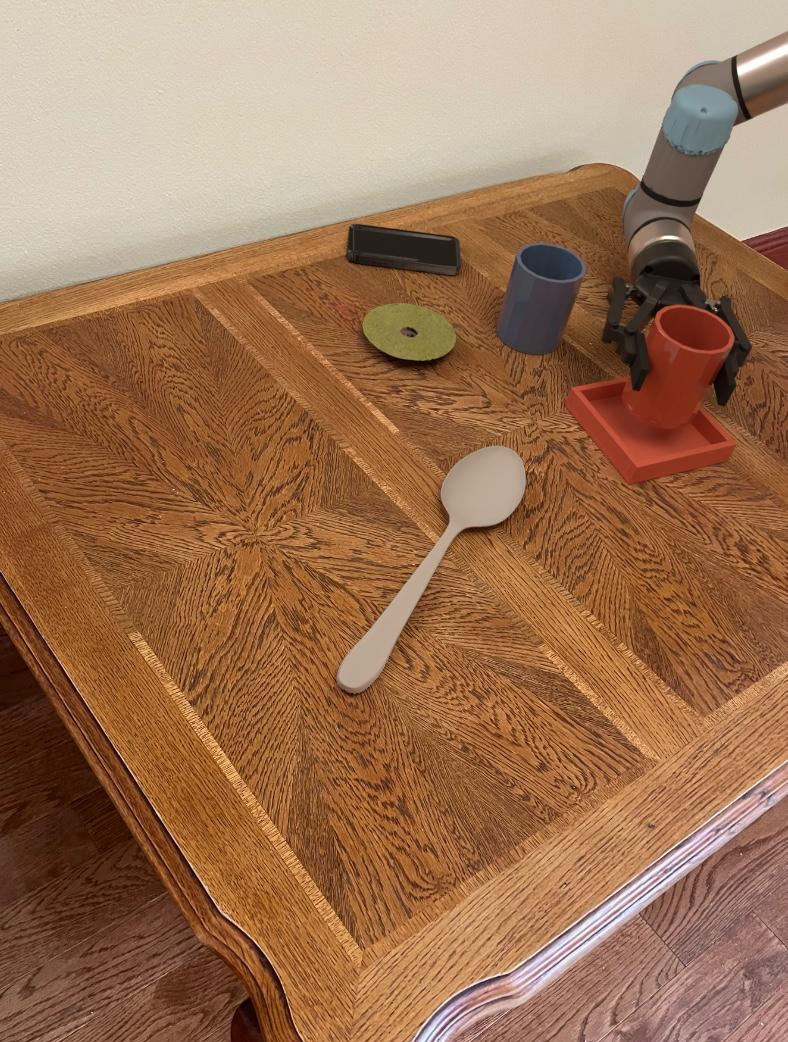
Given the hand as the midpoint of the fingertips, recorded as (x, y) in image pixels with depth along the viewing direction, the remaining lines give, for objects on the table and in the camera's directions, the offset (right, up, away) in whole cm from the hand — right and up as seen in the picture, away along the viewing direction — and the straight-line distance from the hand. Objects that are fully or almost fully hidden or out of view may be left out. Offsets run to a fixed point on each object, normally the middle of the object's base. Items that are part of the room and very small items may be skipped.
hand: (683, 387), depth 97 cm
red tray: (-1, -3, +11) cm, 11 cm away
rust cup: (0, 0, +8) cm, 8 cm away
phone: (-27, +24, +29) cm, 46 cm away
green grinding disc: (-27, +9, +16) cm, 33 cm away
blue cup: (-12, +11, +20) cm, 26 cm away
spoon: (-27, -19, -6) cm, 33 cm away
